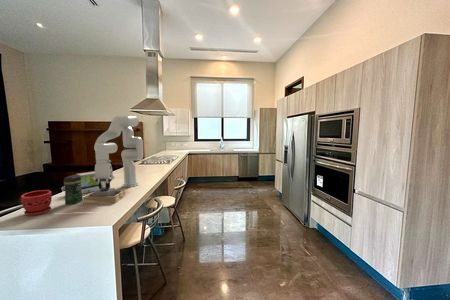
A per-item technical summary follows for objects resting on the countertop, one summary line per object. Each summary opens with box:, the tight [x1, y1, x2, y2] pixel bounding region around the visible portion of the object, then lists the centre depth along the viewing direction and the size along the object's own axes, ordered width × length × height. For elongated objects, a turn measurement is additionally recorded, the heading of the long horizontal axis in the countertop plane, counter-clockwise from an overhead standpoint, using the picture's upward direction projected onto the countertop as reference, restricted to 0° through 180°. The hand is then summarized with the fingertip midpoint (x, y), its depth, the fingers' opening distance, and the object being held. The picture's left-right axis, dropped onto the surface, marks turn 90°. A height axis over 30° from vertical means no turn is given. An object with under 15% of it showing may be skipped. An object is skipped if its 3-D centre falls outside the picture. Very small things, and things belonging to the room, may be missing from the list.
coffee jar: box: [63, 174, 83, 206], centre depth 136 cm, size 10×8×19 cm
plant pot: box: [20, 189, 53, 217], centre depth 120 cm, size 13×13×12 cm
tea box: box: [75, 170, 99, 195], centre depth 164 cm, size 15×10×15 cm
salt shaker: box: [100, 179, 108, 191], centre depth 139 cm, size 5×5×10 cm
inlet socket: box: [93, 187, 116, 197], centre depth 139 cm, size 9×9×7 cm
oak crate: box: [82, 190, 125, 205], centre depth 140 cm, size 14×20×5 cm
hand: (104, 188), depth 139 cm, fingers closed on salt shaker, 4 cm apart
